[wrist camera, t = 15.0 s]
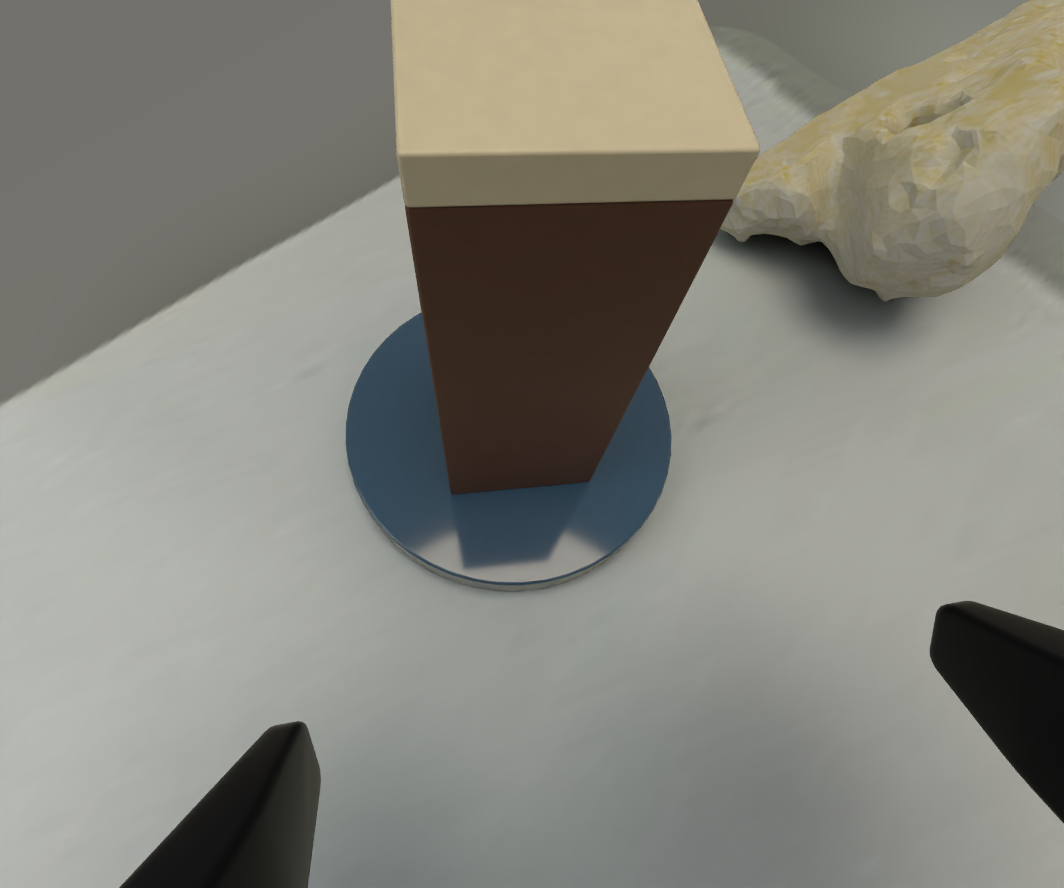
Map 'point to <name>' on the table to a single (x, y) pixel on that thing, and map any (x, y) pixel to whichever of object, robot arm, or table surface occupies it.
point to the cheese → (923, 162)
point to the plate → (502, 515)
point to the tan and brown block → (555, 212)
